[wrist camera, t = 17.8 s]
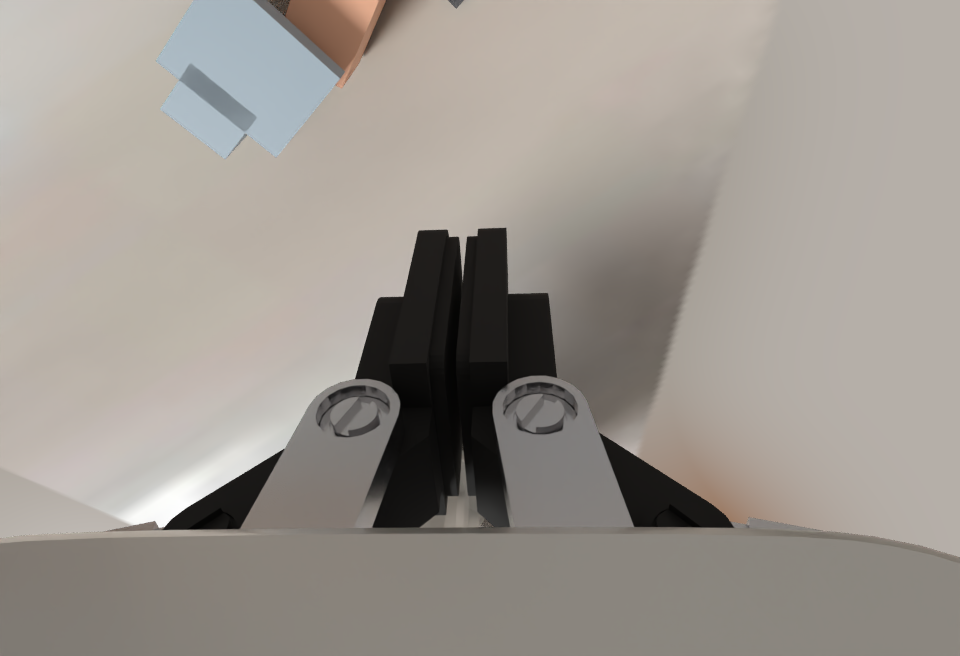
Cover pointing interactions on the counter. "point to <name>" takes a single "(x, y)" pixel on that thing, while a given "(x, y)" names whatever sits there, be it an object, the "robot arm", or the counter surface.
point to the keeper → (244, 75)
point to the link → (337, 28)
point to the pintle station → (455, 2)
